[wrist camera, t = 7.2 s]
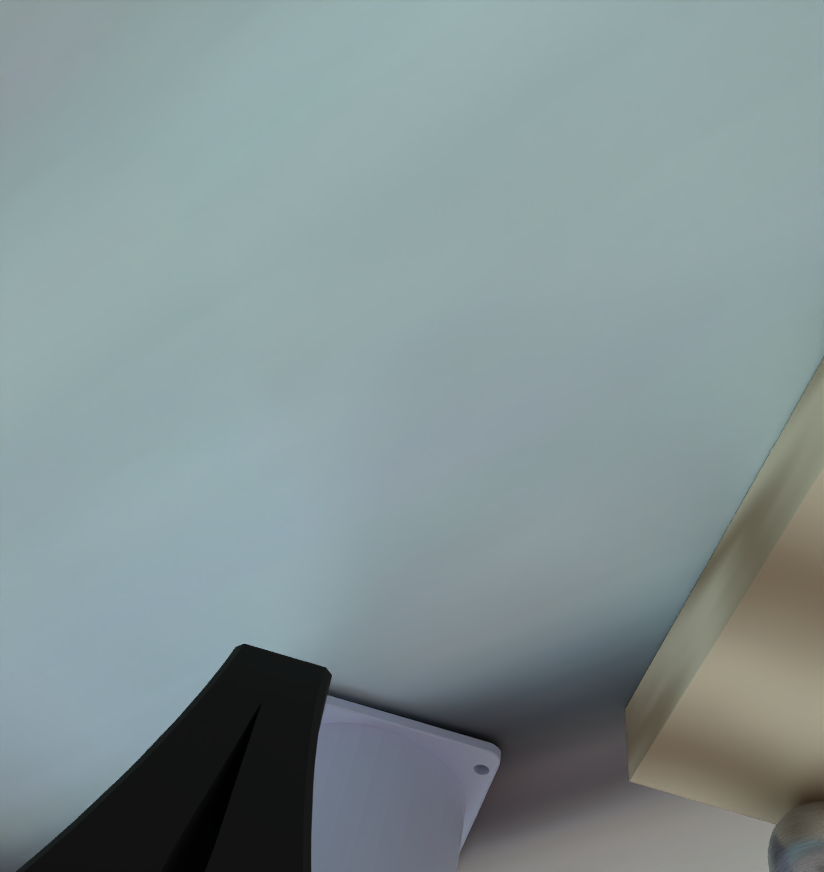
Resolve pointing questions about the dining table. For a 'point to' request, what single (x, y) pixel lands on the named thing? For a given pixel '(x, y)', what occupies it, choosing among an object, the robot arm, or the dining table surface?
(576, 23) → the dining table surface
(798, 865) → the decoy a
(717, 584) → the plate
